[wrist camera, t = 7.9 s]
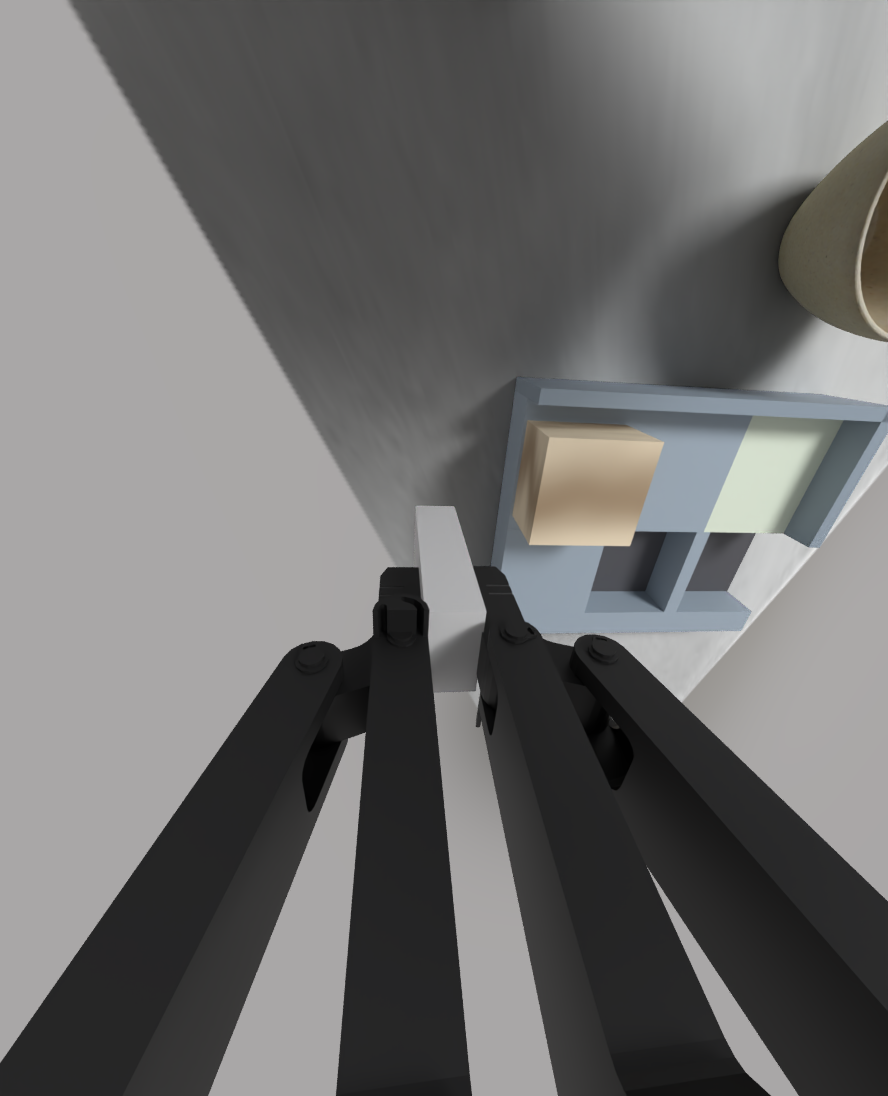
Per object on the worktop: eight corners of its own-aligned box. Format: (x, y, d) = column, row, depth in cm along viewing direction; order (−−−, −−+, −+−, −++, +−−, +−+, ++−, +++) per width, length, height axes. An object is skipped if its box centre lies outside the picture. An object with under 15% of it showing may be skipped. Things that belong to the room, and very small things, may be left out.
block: (527, 420, 23) (549, 437, 19) (625, 424, 24) (664, 442, 20) (512, 515, 26) (529, 544, 22) (600, 517, 26) (630, 546, 23)
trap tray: (516, 376, 24) (541, 388, 20) (821, 394, 27) (902, 408, 22) (484, 609, 33) (496, 652, 29) (716, 608, 35) (759, 647, 31)
